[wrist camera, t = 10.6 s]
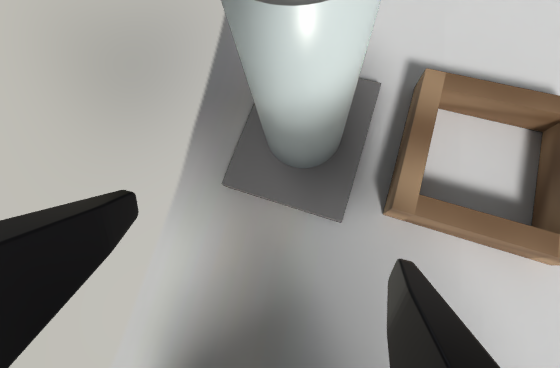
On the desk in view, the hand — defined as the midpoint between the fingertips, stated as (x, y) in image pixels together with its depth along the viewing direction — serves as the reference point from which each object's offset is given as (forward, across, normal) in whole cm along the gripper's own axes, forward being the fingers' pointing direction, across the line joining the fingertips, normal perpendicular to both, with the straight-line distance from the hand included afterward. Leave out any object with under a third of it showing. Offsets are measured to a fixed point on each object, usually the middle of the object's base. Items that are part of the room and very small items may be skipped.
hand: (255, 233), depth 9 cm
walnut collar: (+12, -11, 0) cm, 16 cm away
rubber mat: (+12, 0, 0) cm, 12 cm away
